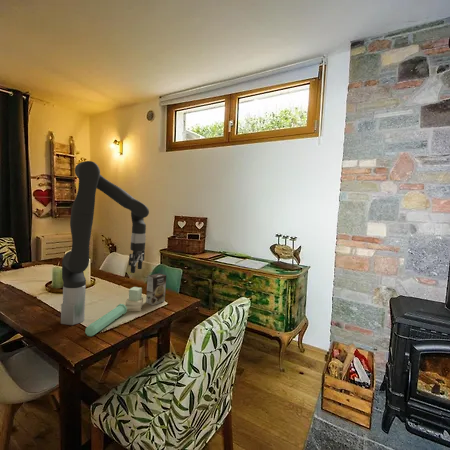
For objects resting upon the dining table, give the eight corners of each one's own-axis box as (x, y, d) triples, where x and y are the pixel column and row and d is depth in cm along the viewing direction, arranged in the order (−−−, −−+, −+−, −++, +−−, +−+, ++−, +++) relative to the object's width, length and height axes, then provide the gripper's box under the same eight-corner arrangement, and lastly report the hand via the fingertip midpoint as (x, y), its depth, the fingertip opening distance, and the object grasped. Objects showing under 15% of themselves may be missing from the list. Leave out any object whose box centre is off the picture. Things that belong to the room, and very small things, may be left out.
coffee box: (152, 305, 151) (154, 278, 150) (145, 302, 155) (147, 275, 153) (165, 301, 158) (166, 275, 157) (158, 298, 162) (159, 272, 161)
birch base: (140, 311, 143) (141, 302, 142) (125, 311, 141) (125, 302, 141) (142, 305, 151) (143, 296, 150) (127, 305, 149) (128, 296, 149)
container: (91, 324, 112) (125, 302, 137) (80, 327, 114) (115, 304, 138) (96, 337, 112) (128, 313, 137) (84, 340, 114) (118, 315, 138)
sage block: (137, 301, 143) (137, 290, 142) (128, 300, 144) (129, 289, 143) (141, 298, 148) (142, 287, 147) (133, 297, 149) (133, 286, 148)
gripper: (137, 239, 150) (135, 267, 152) (125, 242, 136) (123, 273, 138) (149, 240, 150) (148, 268, 151) (139, 244, 136) (137, 275, 137)
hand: (136, 270), depth 144 cm, fingers open, 8 cm apart
